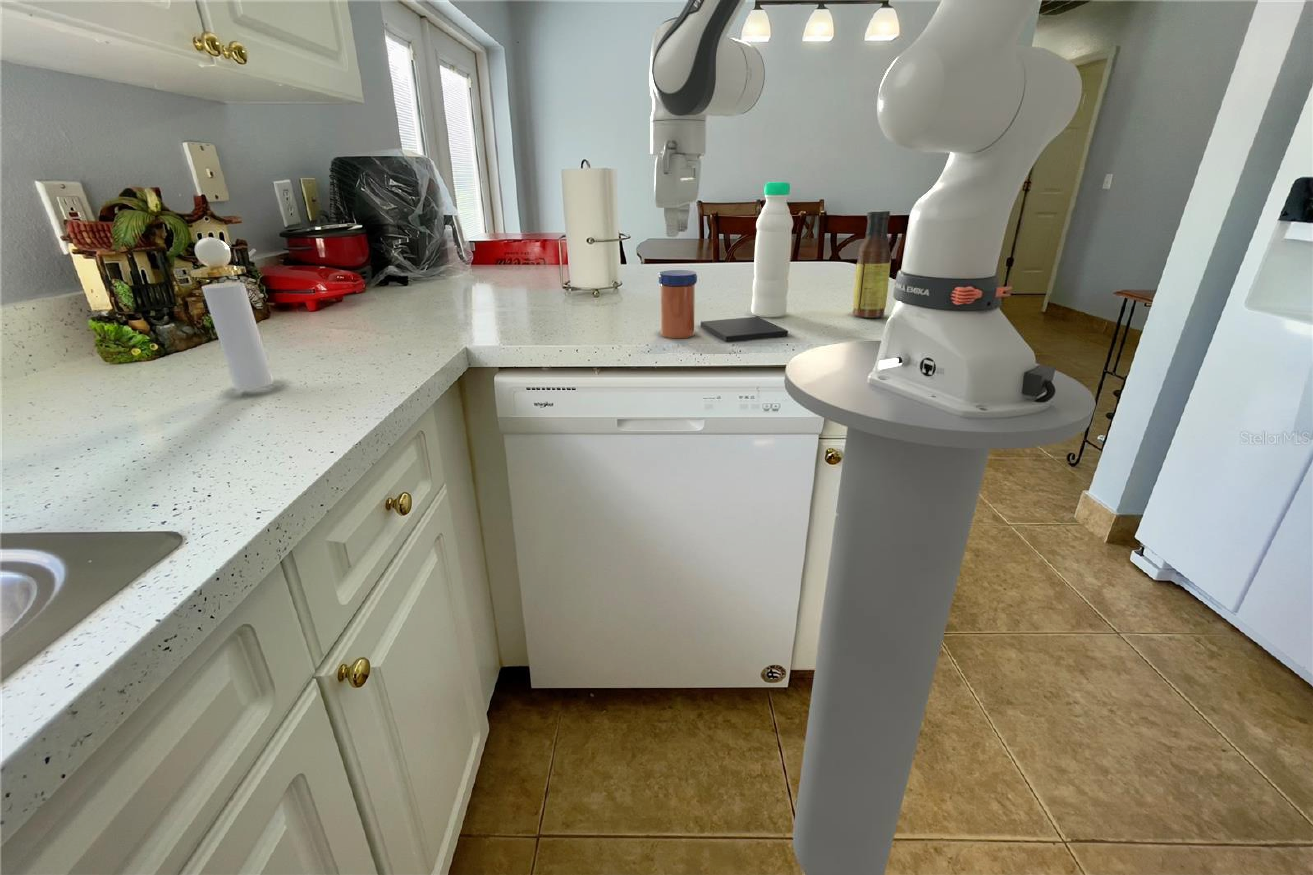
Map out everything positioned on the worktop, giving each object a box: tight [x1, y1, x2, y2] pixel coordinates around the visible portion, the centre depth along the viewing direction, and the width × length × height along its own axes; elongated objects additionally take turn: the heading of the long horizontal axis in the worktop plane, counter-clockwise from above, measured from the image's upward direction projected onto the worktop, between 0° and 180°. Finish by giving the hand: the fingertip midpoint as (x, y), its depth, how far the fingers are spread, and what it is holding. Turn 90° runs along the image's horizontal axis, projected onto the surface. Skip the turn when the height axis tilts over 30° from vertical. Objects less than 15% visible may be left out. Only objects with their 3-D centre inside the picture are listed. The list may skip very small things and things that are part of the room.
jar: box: [660, 284, 696, 339], centre depth 104 cm, size 6×6×10 cm
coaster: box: [700, 316, 789, 343], centre depth 107 cm, size 12×12×1 cm
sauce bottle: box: [852, 209, 892, 319], centre depth 114 cm, size 7×6×20 cm
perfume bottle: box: [189, 236, 274, 391], centre depth 76 cm, size 6×6×20 cm
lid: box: [658, 269, 698, 286], centre depth 102 cm, size 6×6×2 cm
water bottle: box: [750, 181, 794, 318], centre depth 115 cm, size 7×7×25 cm
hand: (677, 233), depth 99 cm, fingers open, 7 cm apart
